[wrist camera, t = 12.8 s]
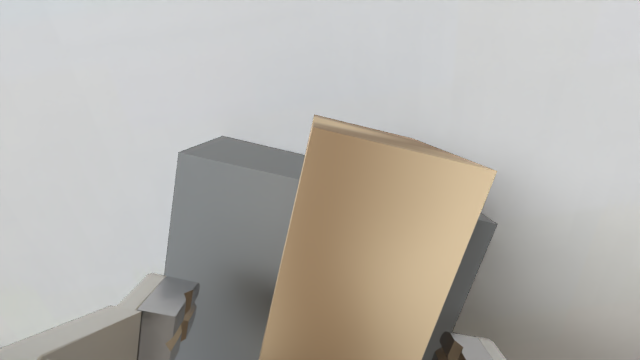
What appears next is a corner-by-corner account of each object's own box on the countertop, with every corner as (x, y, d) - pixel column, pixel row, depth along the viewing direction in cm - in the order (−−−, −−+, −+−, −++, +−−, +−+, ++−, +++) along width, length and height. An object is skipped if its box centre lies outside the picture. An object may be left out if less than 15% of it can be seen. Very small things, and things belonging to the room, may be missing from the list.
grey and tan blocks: (524, 165, 11) (698, 219, 6) (411, 432, 14) (462, 610, 9) (188, 83, 10) (63, 67, 5) (152, 389, 13) (55, 560, 8)
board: (442, 187, 16) (497, 224, 11) (371, 385, 19) (390, 478, 15) (222, 135, 15) (178, 152, 10) (189, 352, 19) (144, 441, 14)
